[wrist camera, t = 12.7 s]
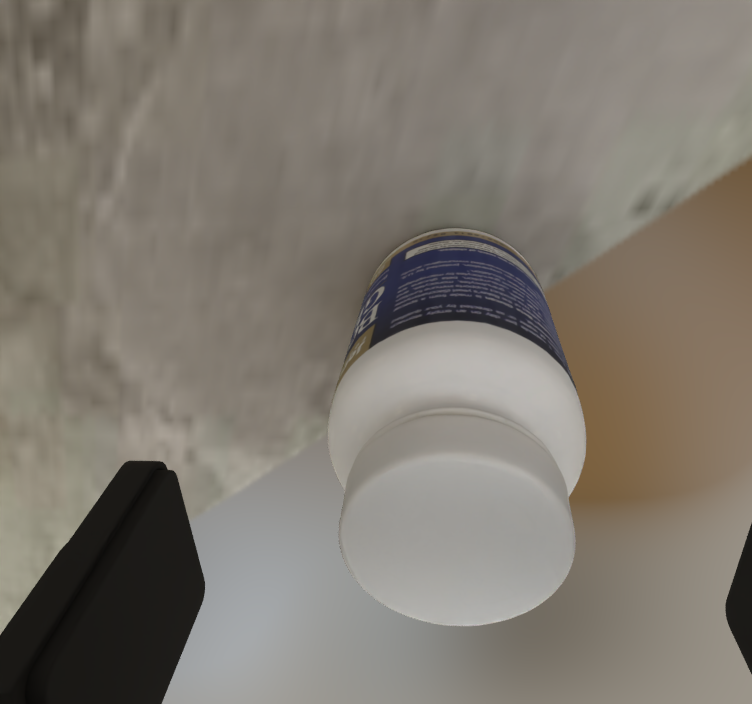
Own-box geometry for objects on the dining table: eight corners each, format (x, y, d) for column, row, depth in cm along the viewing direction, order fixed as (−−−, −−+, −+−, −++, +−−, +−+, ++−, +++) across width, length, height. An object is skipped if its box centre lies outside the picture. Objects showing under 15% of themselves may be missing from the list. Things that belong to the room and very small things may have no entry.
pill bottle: (358, 225, 18) (276, 412, 9) (548, 220, 17) (647, 416, 9) (370, 385, 20) (313, 647, 12) (536, 386, 20) (603, 664, 11)
